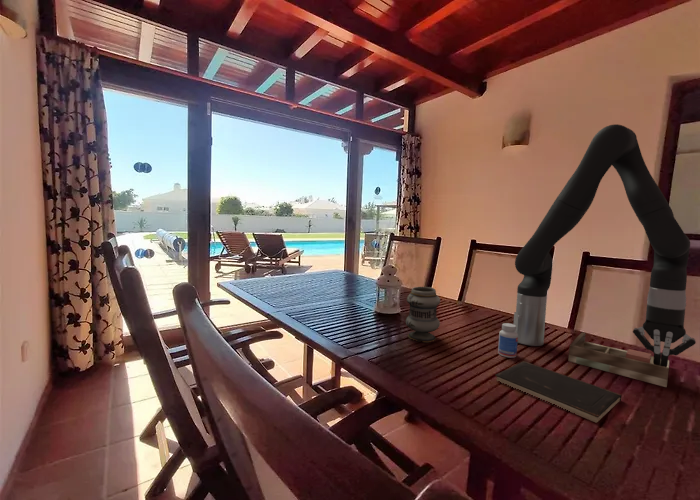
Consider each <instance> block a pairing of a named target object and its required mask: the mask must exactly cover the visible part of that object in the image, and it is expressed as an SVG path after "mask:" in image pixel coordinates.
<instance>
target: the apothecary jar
mask: <svg viewBox="0 0 700 500" xmlns="http://www.w3.org/2000/svg"><path fill="white" fill-rule="evenodd" d="M406 302H407V303H408V304H409V313H408V316H406V319H405V324H406V326H407V327H408V328H409V329H410V330H412V331H411V332H409V333H408V334H407V337H408V339H410V340H411V339H413V340H412V341H414V340H416V341H415V342H421V341H422V342H421V343H431V341H433V342H434V340H435V339H437V338H436V336H435V335H434V334H432V332H435V331H436V330H437V329H438V328H439V327H440V325H441V322H440V319H438V316H437V307H438V306H439V305H441V304H440V303H441V298H440V297H439V296H438V295H437V291H436V289H435V288H434V287H430V286H429V287H428V286H414V287H412V288H411V290H410V293H409V294H408V295H407V296H406ZM435 341H436V340H435Z"/></svg>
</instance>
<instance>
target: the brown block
mask: <svg viewBox="0 0 700 500" xmlns="http://www.w3.org/2000/svg"><path fill="white" fill-rule="evenodd" d="M626 351H627V353H626V358H629V359H634V360H638V361H642V362H646V363H650V361H651V356H652V353H650V352H644V351H640V350H635V349H632V348H631V349H630V348H627V350H626Z"/></svg>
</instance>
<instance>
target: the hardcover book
mask: <svg viewBox="0 0 700 500" xmlns="http://www.w3.org/2000/svg"><path fill="white" fill-rule="evenodd" d="M494 376H495V377H496V382H498V381H500V382H501V383H500V382H499V383H500V384H503V383H504V384H503V385H505V384H507V385H506V386H508V385H509V386H508V387H510V386H511V387H510V388H512V387H513V389H515V388H516V389H515V390H517V389H519V390H521V391H520V392H522V391H523V392H522V393H524V392H526V393H525V394H527V393H529V394H531V395H533V396H532V397H534V396H536V397H538V398H540V399H539V400H541V399H542V400H541V401H543V400H545V401H544V402H546V401H548V402H550V403H552V404H551V405H553V404H555V405H557V406H556V407H558V406H559V407H558V408H560V407H561V408H560V409H562V408H563V410H565V409H566V410H565V411H567V410H568V412H569V411H570V413H572V414H574V413H575V414H574V415H577V416H579V417H582V418H584V419H587V420H588V421H590V422H594V423H596V424H597V423H598V422H599V421H600V420H601V419H603V418H604V417H605V415H607V414H608V412H610V411H611V410H612V409H613V408H614V407H615V406H616V405H617V404H619V402H622V397H623V396H622V394H621V393H618V392H614V391H611V390H609V389H605V388H603V387H600V386H597V385H595V384H591V383H588V382H585V381H583V380H580V379H577V378H574V377H571V376H569V375H567V374H566V375H565V374H563V373H559V372H557V371H553V370H551V369H549V368H544V367H542V366H539V365H536V364H534V363H531V362H528V361H521V362H519V363H517V364H515V365H513V366H510V367H508V368H506V369H504V370H502V371H499V372H497V373H496V374H494ZM519 390H518V391H519ZM529 394H528V395H529ZM531 395H530V396H531ZM536 397H535V398H536ZM538 398H537V399H538ZM548 402H547V403H548ZM550 403H549V404H550ZM555 405H554V406H555Z"/></svg>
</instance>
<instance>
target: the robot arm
mask: <svg viewBox="0 0 700 500" xmlns="http://www.w3.org/2000/svg"><path fill="white" fill-rule="evenodd" d="M637 137H638V136H637V135H636V133H635V131H634V130H632V129H631V128H628V127H626V126H625V125H621V124H614V123H613V124H610V125H606V126H605V127H603V128H602V129H600V130H598V131H597V132H596V134H595V135H594V136H593V138H592V139H591V142H590V143H589V145H588V147H587V149H586V151H585V153H584V155H583V157H582V159H581V160H580V162H579V164H578V166H577V167H576V169H575V171H574V172H573V174H572V175H571V176H570V178H569V179H568V181H567V182H566V184H565V185H564V187H563V188H562V189H561V191H560V192H559V194H558V195H557V197H556V198H555V200H554V201H553V203H552V205H551V206H550V208H549V209H548V211H547V212H546V214H545V216H544V217H543V219H542V220H541V222H540V223H539V225H538V226H537V228H536V230H535V231H534V233H533V234H532V236H530V238H529V240H528V241H527V242H525V244H524V245H523V246H522V248H521V249H520V251H518V253H517V254H516V257H515V260H514V266H515V269H516V271H517V272H518V273H519V274H521V275H523V279H522V280H521V282H519V283H518V285H517V288H516V289H517V290H516V293H517V294H516V305H515V311H514V313H513V324H514V325H516V331H515V332H516V333H517V334H518V343H517V344H522V345H526V346H531V347H540V346H543V345H544V341H545V326H546V325H545V324H546V314H547V312H546V311H547V301H548V291H549V289H550V286H551V284H552V283H551V282H552V274H553V264H554V263H553V258H552V255H551V254H550V252H551V250H552V249H553V247H554V246H555V245H556V244H557V243H558V242H559V241H560V240H562V239H563V237H565V236H566V235H567V234H568V233H570V232H571V231H572V230H573V229H574V228H575V227H576V226H577V225H578V224H579V222H580V221H581V220H582V219H583V217H584V216H585V215H586V213H587V212H588V210H589V209H590V207H591V205H592V203H593V201H594V199H595V197H596V194H597V191H598V189H599V186H600V183H601V181H602V179H603V178H604V176H605V175H606V173H607V172H608V171H609V169H610V168H611V167H613V168H614V169H615V171H616V172H617V174H618V176H619V178H620V180H621V181H622V184H623V187H624V190H625V194H626V198H627V199H628V202H629V204H630V206H631V208H632V210H633V213H635V216H636V217H637V219H638V221H639V222H640V224H641V225H642V226H643V229H644V232H645V234H646V237H647V240H648V241H649V244H650V246H651V247H652V249H653V250H654V251H653V253H654V254H653V267H652V269H651V271H650V278H649V279H650V281H649V287H648V288H649V289H648V292H647V299H646V301H647V303H646V309H645V312H646V313H645V321H644V322H643V323H642V326H639V327H634V328H633V331H632V333H633V334H634V336H636V338H637V339H638V340H639V342H640V343H641V345H643V347H644V348H645V349H646V350H648V351H651V352H652V353H653V357H654V360H653V363H654V364H655V365H659V366H663V367H667V364H668V360H669V356H678V355H680V354H682V353H683V352H685V351H687V350H688V349H690V348H691V347H693V346H694V345H696V344H697V341H696V339H695V338H694V337H691V336H690V335H688V334H687V333H686V331H687V330H686V329H685V328H684V327H685V317H686V316H685V315H686V307H687V294H686V293H687V282H688V281H687V279H688V276H687V274H688V273H687V267H688V261H689V256H690V255H689V254H690V248H691V240H690V238H689V236H688V235H686V233H685V232H684V230H683V229H682V227H681V225H680V224H679V223H678V221H677V219H676V217H675V214H674V212H673V209H672V208H671V206H670V204H669V202H668V201H667V199H666V196H664V194H663V191H662V190H661V189H660V187H659V186H658V184H657V182H656V180H655V179H654V177H653V176H652V174H651V173H650V170H649V169H648V167H647V165H646V161H645V160H644V157H643V155H642V151H641V148H640V145H639V141H638V139H637ZM645 332H646V334H647V335H648V336H649V338H650V339H652V340H653V344H652V343H651V342H650V341H649V340H648V338H647V337H646V336H645ZM680 339H681V343H680V344H678V345H677V346H675V347H674V348H671V346H672V344H674V343H675V342H677V341H678V340H680ZM661 342H662V343H664V344H663V348H662V351H661ZM660 361H661V363H660Z"/></svg>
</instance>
